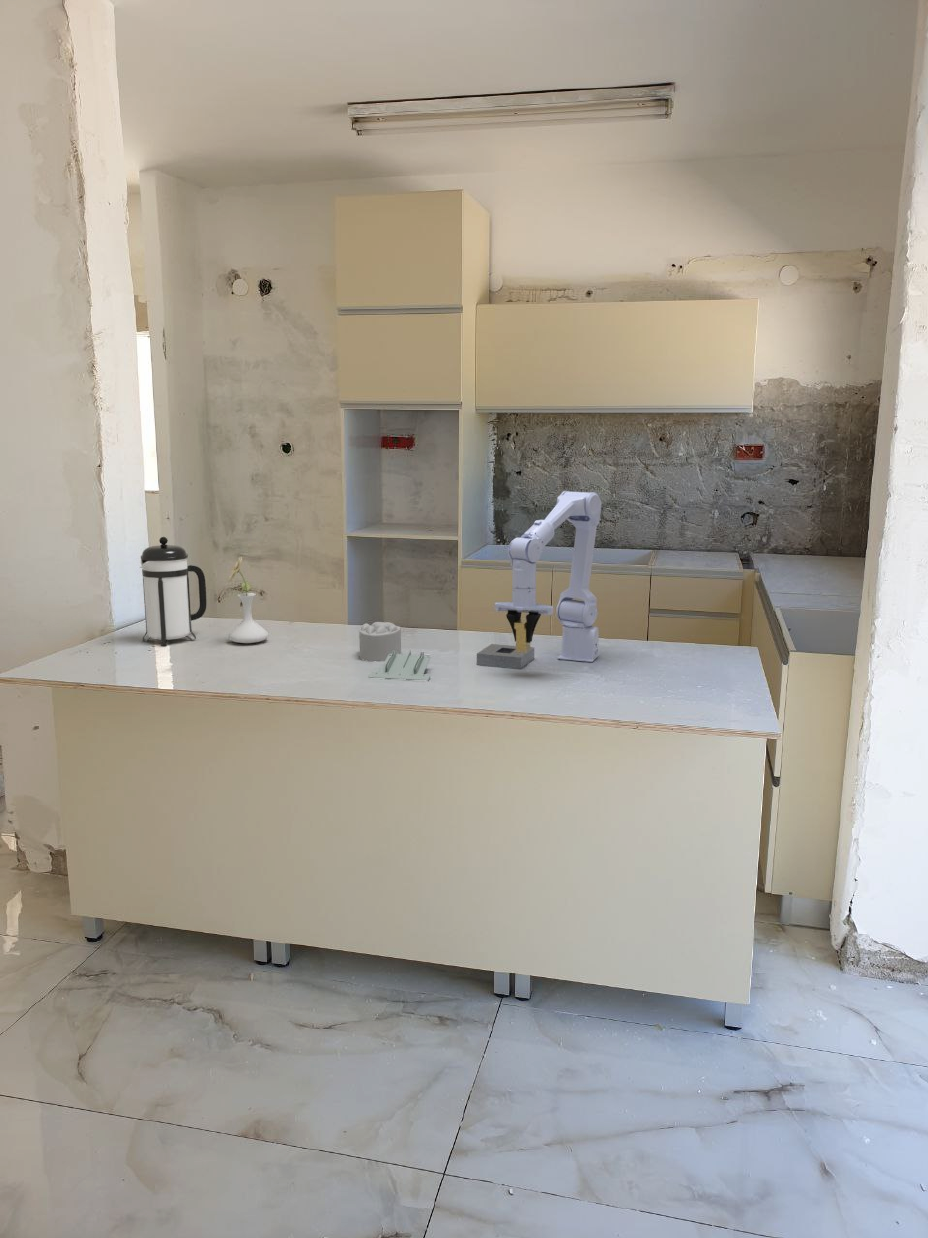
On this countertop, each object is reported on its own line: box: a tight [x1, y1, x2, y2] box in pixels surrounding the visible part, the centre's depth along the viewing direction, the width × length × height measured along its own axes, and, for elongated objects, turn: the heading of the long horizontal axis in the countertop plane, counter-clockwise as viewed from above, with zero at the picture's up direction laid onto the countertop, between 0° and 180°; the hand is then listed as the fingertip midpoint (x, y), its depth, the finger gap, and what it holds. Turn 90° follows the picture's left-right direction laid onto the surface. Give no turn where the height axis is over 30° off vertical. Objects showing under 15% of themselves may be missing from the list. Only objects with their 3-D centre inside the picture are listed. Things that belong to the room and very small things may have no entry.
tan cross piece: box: [514, 617, 531, 652], centre depth 229 cm, size 2×7×8 cm, turn 159°
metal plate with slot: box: [476, 643, 535, 670], centre depth 243 cm, size 12×12×3 cm
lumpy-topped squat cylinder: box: [358, 621, 402, 662], centre depth 249 cm, size 10×13×9 cm
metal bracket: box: [368, 649, 432, 681], centre depth 231 cm, size 14×6×15 cm
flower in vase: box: [227, 556, 269, 644], centre depth 263 cm, size 13×11×25 cm
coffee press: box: [138, 536, 207, 647], centre depth 265 cm, size 17×16×30 cm
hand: (523, 641), depth 229 cm, fingers closed on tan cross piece, 2 cm apart
